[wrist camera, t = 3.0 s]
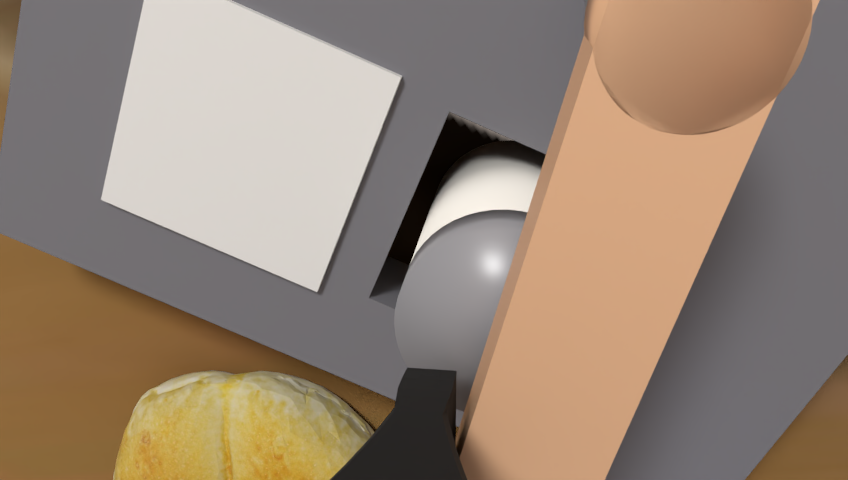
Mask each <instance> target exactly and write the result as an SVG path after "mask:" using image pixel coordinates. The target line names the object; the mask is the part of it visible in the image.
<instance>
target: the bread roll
mask: <svg viewBox="0 0 848 480" xmlns="http://www.w3.org/2000/svg"><path fill="white" fill-rule="evenodd" d="M373 434H374V431H373V429H372V428H371V427H370V426H369V424H368V423H367V422H366V421H364V420H363V419H362V418H361V417H360V416H359V415H358V414H357V413H356V412H355V411H354V410H353V409H352V408H351V407H350V406H349V405H348V404H347V403H345V402H344V401H343V400H341V399H340V398H339V397H338V396H336V395H335V394H334V393H332V392H331V391H329V390H328V389H326V388H324V387H322V386H320V385H317V384H315V383H312V382H310V381H308V380H306V379H302V378H299V377H295V376H292V375H288V374H283V373H277V372H268V371H256V372H249V373H242V374H232V373H228V372H224V371H215V370H210V371H203V372H195V373H190V374H185V375H182V376H179V377H176V378H173V379H170V380H168V381H166V382H164V383H163V384H161V385H159V386H157V387H155V388H152V389H150V390H149V391H147V392H146V393H145V394H144V395H143V396H141V398H140V400H139V401H138V403H137V405H136V407H135V408H134V410H133V414H132V416H131V419H130V421H129V423H128V426H127V427H126V429H125V431H124V435H123V440H122V443H121V445H120V449H119V452H118V455H117V460H116V467H115V470H114V474H113V479H114V480H330V479H331V478H332V477H333V476H334V475H335V474H336V473H337V472H338V471H339V470H340V469H341V468H342V467H343V466H344V465H345V464H346V463H347V462H348V461H349V460H350V459H351V458H352V457H353V456H354V455H355V453H356V452H357V451H358V450H359V449H360V448H361V447H362V446H363V445H364V444H365V443H366V442H367V441H368V439H369V438H370V437H371V436H372V435H373Z"/></svg>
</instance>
